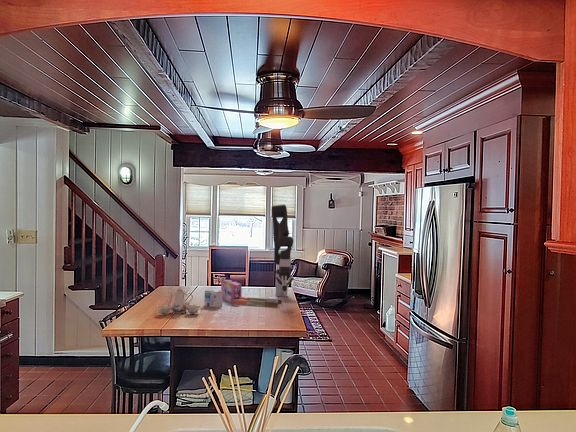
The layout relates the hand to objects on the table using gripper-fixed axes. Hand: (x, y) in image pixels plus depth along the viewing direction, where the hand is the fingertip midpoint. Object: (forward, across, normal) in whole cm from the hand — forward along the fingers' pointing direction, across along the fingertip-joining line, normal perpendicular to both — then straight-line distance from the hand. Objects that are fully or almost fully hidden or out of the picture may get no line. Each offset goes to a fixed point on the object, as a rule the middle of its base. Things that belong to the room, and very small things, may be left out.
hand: (284, 291), depth 311 cm
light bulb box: (+12, +47, +11) cm, 50 cm away
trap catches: (+10, +30, 0) cm, 31 cm away
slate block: (+10, +8, 0) cm, 13 cm away
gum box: (+11, +44, -14) cm, 48 cm away
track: (+11, +18, 0) cm, 22 cm away
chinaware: (+12, +58, +39) cm, 71 cm away
